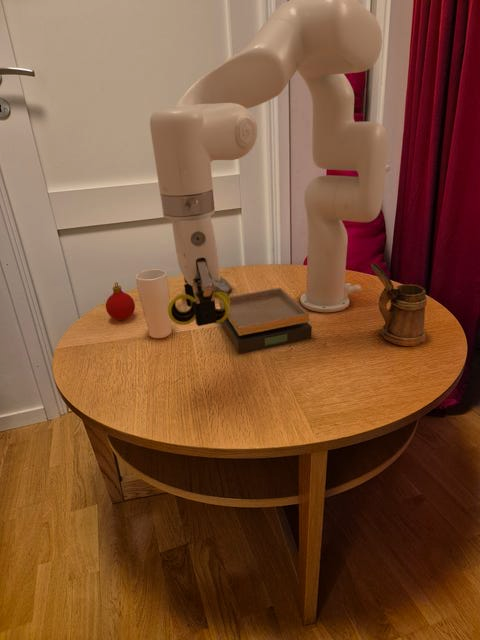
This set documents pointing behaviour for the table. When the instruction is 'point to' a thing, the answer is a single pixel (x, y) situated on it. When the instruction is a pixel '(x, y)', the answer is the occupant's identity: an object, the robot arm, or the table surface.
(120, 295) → the christmas ornament
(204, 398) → the table surface
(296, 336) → the scale
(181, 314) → the opera glasses
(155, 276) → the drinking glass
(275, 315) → the scale pan
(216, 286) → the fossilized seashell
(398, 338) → the wooden mug
